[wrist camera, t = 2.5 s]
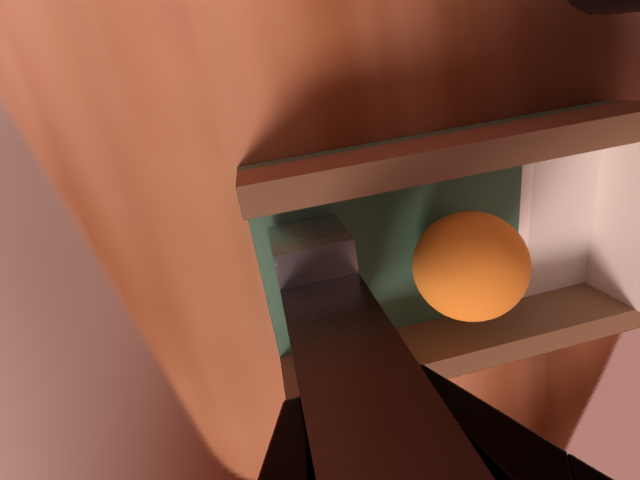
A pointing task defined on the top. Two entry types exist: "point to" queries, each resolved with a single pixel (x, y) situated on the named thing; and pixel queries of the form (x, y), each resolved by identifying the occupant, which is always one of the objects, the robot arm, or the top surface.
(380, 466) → the block
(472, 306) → the ball
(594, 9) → the coffee cup
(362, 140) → the top surface
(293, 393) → the pitch
